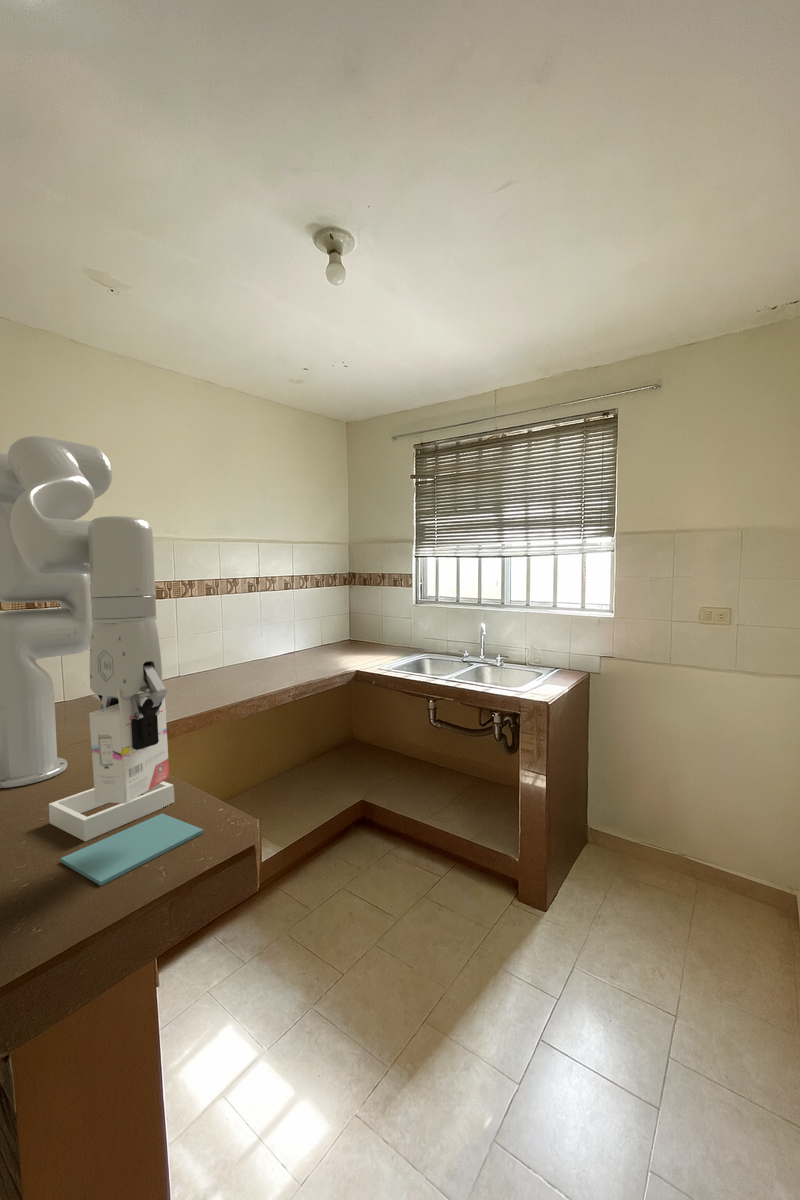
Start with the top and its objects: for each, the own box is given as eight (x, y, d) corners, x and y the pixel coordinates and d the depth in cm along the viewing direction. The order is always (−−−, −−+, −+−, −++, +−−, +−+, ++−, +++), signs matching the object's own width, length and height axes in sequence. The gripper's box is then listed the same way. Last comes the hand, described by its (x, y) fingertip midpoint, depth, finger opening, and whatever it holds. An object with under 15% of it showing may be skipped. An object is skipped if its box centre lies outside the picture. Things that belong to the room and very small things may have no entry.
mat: (60, 862, 63) (60, 858, 63) (162, 816, 75) (162, 813, 75) (100, 886, 58) (100, 881, 58) (203, 832, 70) (203, 829, 70)
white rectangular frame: (49, 823, 74) (48, 803, 74) (138, 789, 85) (137, 772, 85) (85, 841, 68) (83, 820, 68) (174, 802, 80) (173, 784, 79)
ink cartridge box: (140, 776, 71) (135, 675, 70) (170, 778, 70) (165, 676, 69) (92, 802, 62) (86, 688, 62) (125, 805, 61) (119, 689, 61)
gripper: (62, 611, 67) (69, 741, 67) (132, 612, 57) (139, 762, 58) (118, 608, 73) (124, 726, 74) (189, 609, 64) (195, 744, 64)
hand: (131, 741), depth 66 cm, fingers closed on ink cartridge box, 6 cm apart
